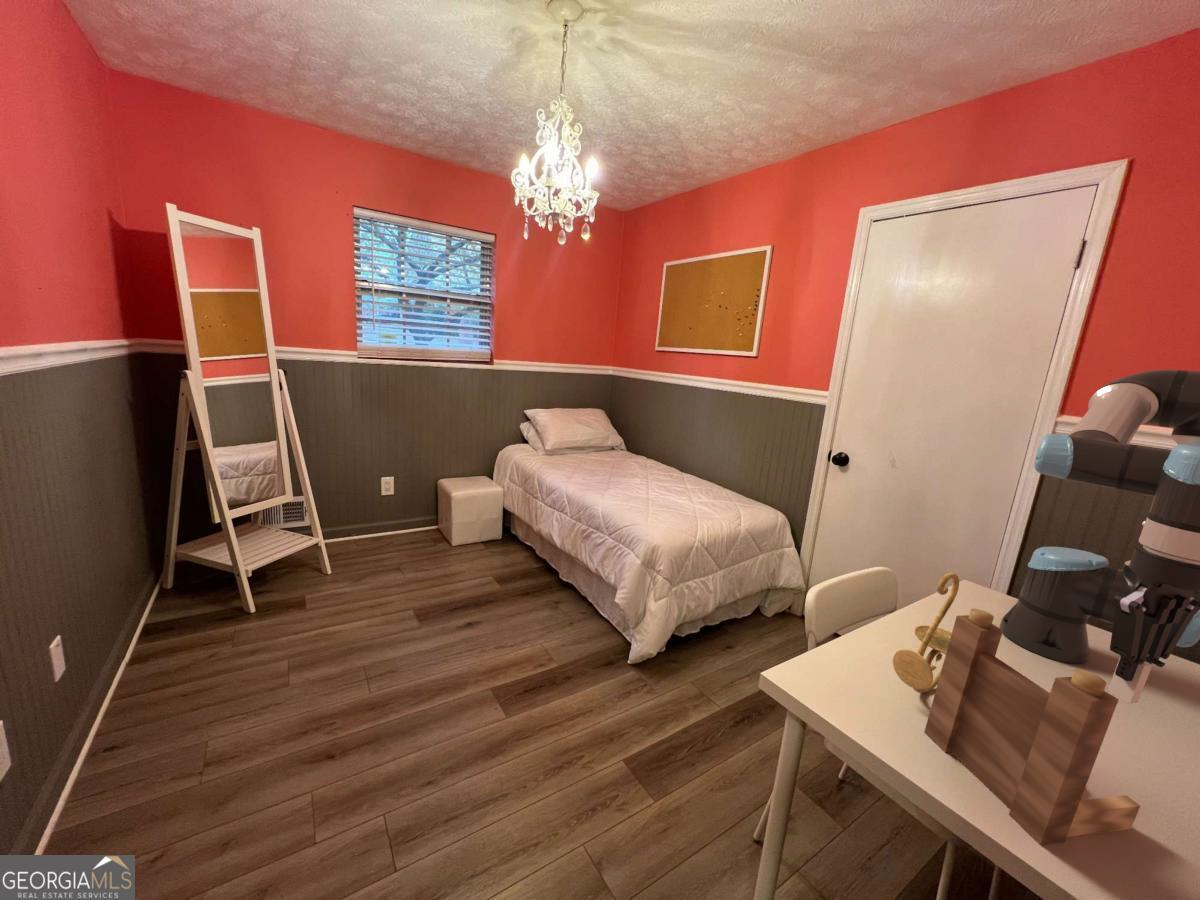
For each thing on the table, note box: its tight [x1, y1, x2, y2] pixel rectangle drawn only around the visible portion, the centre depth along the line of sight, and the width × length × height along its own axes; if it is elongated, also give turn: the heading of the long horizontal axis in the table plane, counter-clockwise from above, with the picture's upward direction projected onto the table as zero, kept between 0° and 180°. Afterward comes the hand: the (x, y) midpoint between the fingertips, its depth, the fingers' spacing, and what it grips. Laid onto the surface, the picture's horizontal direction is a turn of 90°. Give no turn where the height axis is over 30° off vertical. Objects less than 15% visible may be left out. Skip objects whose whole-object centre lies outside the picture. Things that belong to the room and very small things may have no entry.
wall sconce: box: [892, 572, 960, 694], centre depth 84 cm, size 14×10×25 cm
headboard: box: [924, 608, 1141, 846], centre depth 67 cm, size 16×18×24 cm
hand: (1122, 696), depth 69 cm, fingers closed
